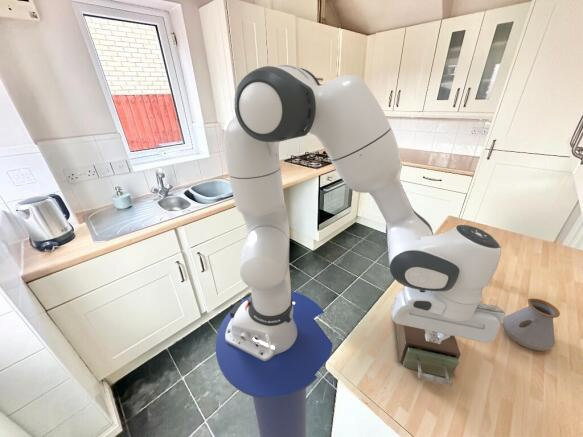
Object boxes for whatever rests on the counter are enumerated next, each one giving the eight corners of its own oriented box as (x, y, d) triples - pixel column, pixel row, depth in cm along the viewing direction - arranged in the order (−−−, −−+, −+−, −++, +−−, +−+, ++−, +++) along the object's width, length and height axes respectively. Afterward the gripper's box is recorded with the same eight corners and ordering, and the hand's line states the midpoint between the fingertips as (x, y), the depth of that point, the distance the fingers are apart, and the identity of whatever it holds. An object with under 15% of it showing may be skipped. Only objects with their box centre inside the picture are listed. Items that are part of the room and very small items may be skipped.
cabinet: (450, 374, 64) (461, 354, 60) (399, 362, 67) (406, 342, 63) (437, 327, 76) (445, 308, 72) (394, 319, 79) (399, 300, 75)
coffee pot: (510, 315, 79) (531, 281, 72) (557, 343, 70) (585, 307, 63) (473, 345, 71) (492, 309, 63) (521, 382, 62) (550, 345, 54)
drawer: (456, 398, 58) (466, 382, 55) (405, 385, 61) (411, 369, 58) (438, 332, 73) (444, 317, 70) (398, 324, 76) (402, 309, 73)
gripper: (501, 297, 51) (477, 339, 57) (397, 278, 56) (386, 319, 62) (517, 321, 45) (488, 365, 52) (400, 299, 50) (388, 341, 57)
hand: (432, 340), depth 57 cm, fingers closed
